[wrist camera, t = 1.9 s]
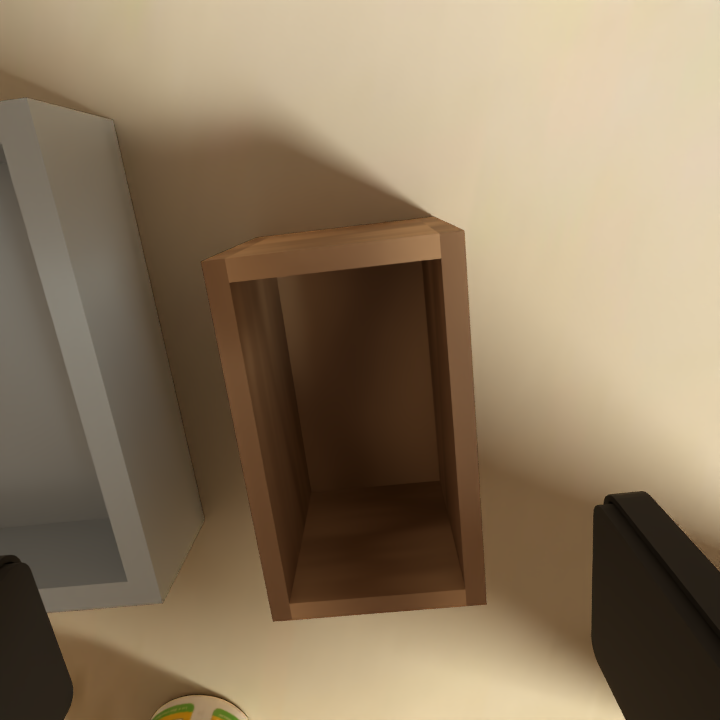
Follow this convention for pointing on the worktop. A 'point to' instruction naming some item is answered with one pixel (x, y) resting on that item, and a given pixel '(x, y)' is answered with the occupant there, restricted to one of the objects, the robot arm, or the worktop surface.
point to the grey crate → (84, 374)
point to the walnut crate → (355, 415)
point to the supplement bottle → (199, 709)
